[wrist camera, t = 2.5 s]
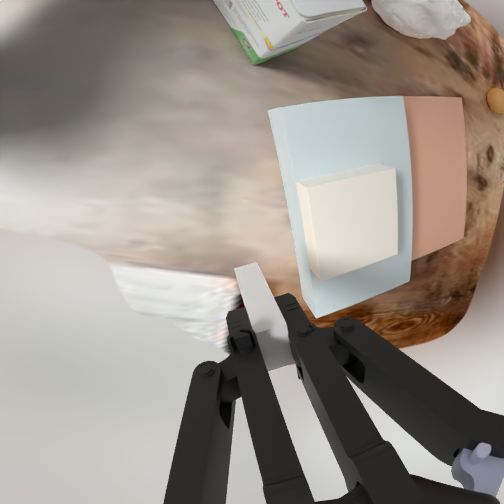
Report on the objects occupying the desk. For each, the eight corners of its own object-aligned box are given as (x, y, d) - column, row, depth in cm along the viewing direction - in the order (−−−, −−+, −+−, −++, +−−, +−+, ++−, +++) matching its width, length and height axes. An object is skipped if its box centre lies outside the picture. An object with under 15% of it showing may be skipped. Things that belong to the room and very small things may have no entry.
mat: (378, 97, 24) (381, 96, 24) (458, 97, 26) (461, 97, 25) (390, 266, 33) (393, 268, 33) (460, 237, 34) (463, 238, 34)
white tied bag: (337, -2, 21) (376, 24, 15) (362, -50, 15) (414, -41, 9) (418, 42, 24) (467, 86, 19) (444, 3, 18) (503, 38, 12)
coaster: (295, 181, 22) (307, 187, 20) (378, 163, 23) (395, 168, 21) (309, 268, 26) (320, 281, 24) (382, 243, 27) (397, 254, 24)
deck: (267, 110, 23) (280, 107, 20) (378, 97, 24) (402, 95, 21) (302, 297, 32) (316, 318, 29) (390, 266, 33) (409, 281, 30)
